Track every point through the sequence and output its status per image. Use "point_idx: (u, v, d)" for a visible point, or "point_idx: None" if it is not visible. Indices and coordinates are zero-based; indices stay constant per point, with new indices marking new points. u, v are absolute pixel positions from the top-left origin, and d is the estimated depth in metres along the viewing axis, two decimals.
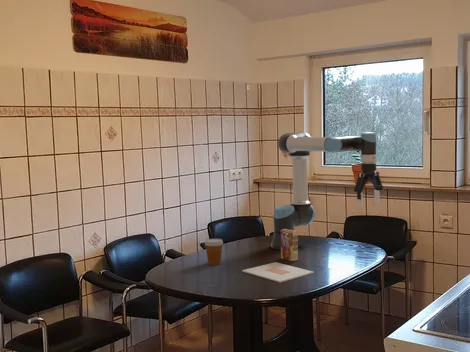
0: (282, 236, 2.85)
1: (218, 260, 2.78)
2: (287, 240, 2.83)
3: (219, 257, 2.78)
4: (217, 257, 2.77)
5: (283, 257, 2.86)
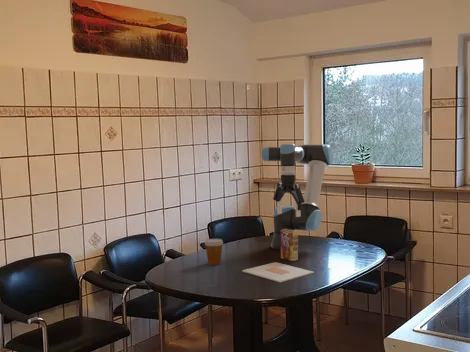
0: (282, 236, 2.85)
1: (218, 260, 2.78)
2: (287, 240, 2.83)
3: (219, 257, 2.78)
4: (217, 257, 2.77)
5: (283, 257, 2.86)
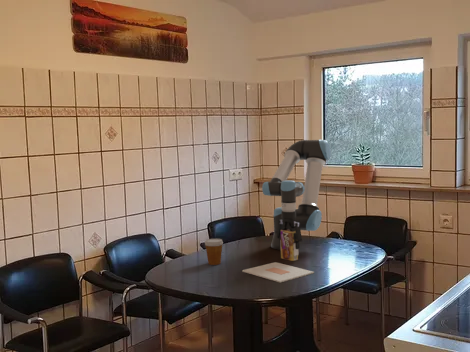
0: (282, 236, 2.85)
1: (218, 260, 2.78)
2: (287, 240, 2.83)
3: (219, 257, 2.78)
4: (217, 257, 2.77)
5: (283, 257, 2.86)
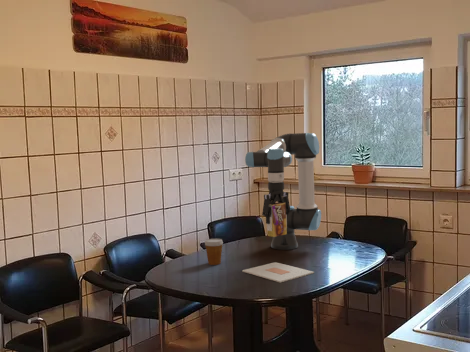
0: (274, 211, 2.55)
1: (218, 260, 2.78)
2: (280, 214, 2.57)
3: (219, 257, 2.78)
4: (217, 257, 2.77)
5: (276, 234, 2.56)
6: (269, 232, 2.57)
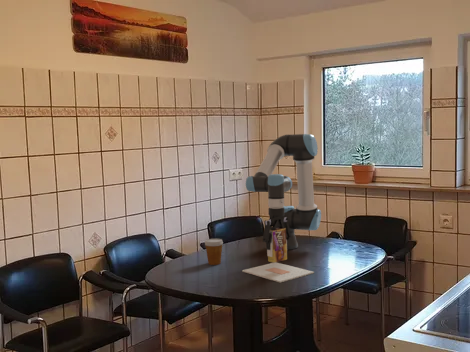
0: (275, 237, 2.56)
1: (218, 260, 2.78)
2: (280, 239, 2.58)
3: (219, 257, 2.78)
4: (217, 257, 2.77)
5: (276, 260, 2.57)
6: (269, 258, 2.58)
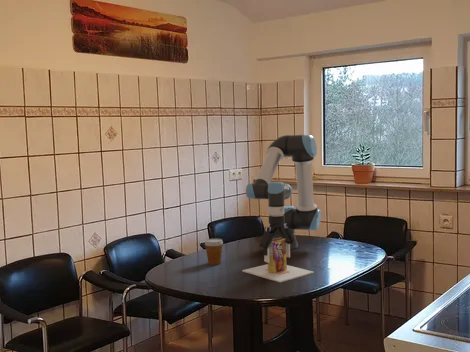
0: (275, 247, 2.56)
1: (218, 260, 2.78)
2: (280, 250, 2.59)
3: (219, 257, 2.78)
4: (217, 257, 2.77)
5: (276, 270, 2.57)
6: (269, 268, 2.58)
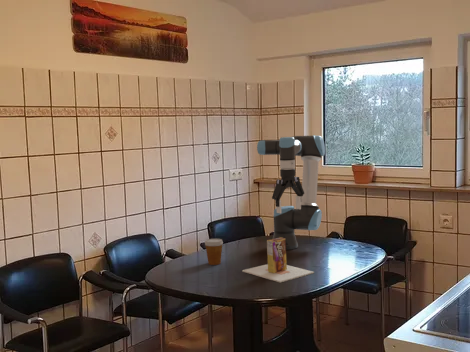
0: (275, 247, 2.56)
1: (218, 260, 2.78)
2: (280, 250, 2.59)
3: (219, 257, 2.78)
4: (217, 257, 2.77)
5: (276, 270, 2.57)
6: (269, 268, 2.58)
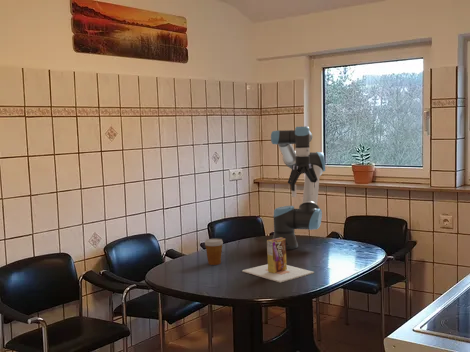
0: (275, 247, 2.56)
1: (218, 260, 2.78)
2: (280, 250, 2.59)
3: (219, 257, 2.78)
4: (217, 257, 2.77)
5: (276, 270, 2.57)
6: (269, 268, 2.58)
